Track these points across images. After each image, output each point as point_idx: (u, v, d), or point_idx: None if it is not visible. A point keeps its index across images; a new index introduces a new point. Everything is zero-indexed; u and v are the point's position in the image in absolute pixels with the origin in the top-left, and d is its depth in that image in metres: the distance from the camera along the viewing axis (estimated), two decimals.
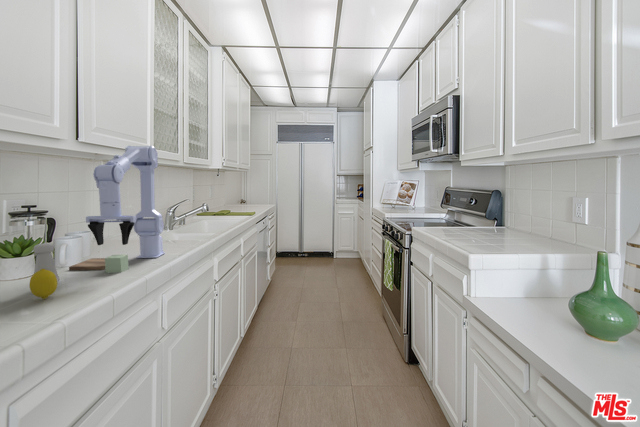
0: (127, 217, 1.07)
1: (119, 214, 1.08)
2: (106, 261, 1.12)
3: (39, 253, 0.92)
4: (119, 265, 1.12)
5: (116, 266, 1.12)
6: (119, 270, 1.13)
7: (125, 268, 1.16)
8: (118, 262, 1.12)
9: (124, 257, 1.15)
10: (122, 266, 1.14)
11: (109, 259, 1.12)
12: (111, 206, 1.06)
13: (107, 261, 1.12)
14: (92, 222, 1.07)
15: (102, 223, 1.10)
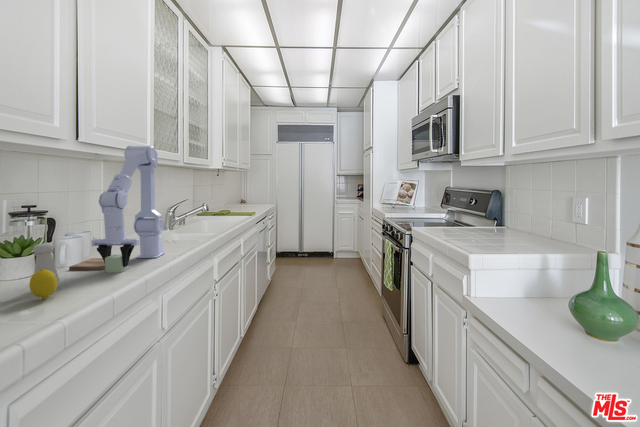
0: (130, 241, 1.13)
1: (123, 238, 1.14)
2: (106, 261, 1.12)
3: (39, 253, 0.92)
4: (119, 265, 1.12)
5: (116, 266, 1.12)
6: (119, 270, 1.13)
7: (125, 268, 1.16)
8: (118, 261, 1.12)
9: None
10: (122, 266, 1.14)
11: (109, 258, 1.12)
12: (115, 231, 1.11)
13: (107, 261, 1.12)
14: (97, 245, 1.13)
15: (110, 246, 1.16)
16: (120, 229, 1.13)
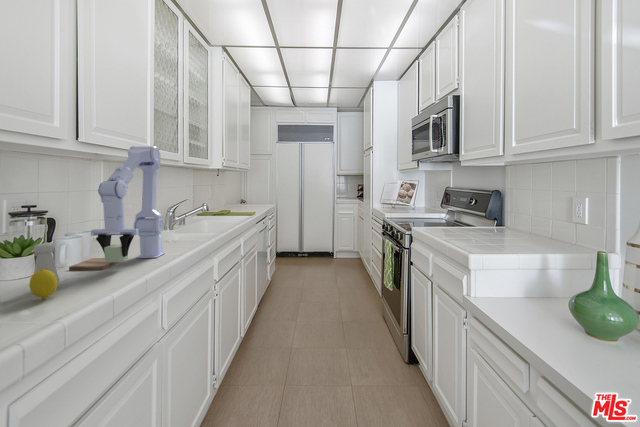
0: (130, 230, 1.13)
1: (122, 227, 1.13)
2: (105, 250, 1.12)
3: (39, 253, 0.92)
4: (118, 254, 1.12)
5: (116, 255, 1.12)
6: (119, 260, 1.12)
7: (125, 258, 1.15)
8: (117, 251, 1.12)
9: None
10: (121, 256, 1.13)
11: (108, 248, 1.12)
12: (115, 220, 1.11)
13: (106, 250, 1.12)
14: None
15: (109, 236, 1.15)
16: (119, 219, 1.12)
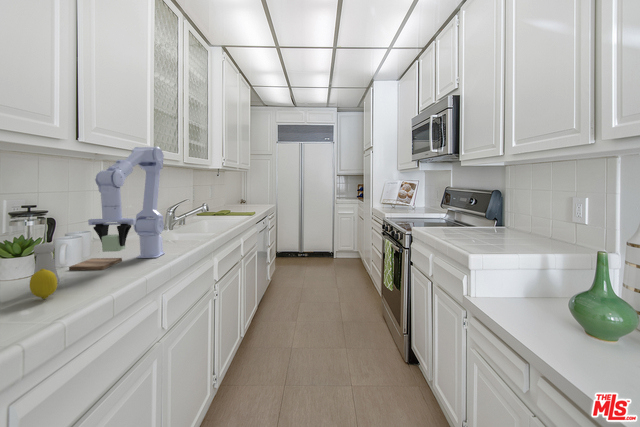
0: (127, 220, 1.13)
1: (120, 217, 1.14)
2: (103, 240, 1.12)
3: (39, 253, 0.92)
4: (116, 244, 1.13)
5: (113, 245, 1.12)
6: (116, 249, 1.13)
7: (122, 247, 1.16)
8: (115, 240, 1.12)
9: None
10: (119, 245, 1.14)
11: (106, 237, 1.12)
12: (112, 209, 1.12)
13: (104, 240, 1.12)
14: None
15: (107, 225, 1.16)
16: (117, 208, 1.13)
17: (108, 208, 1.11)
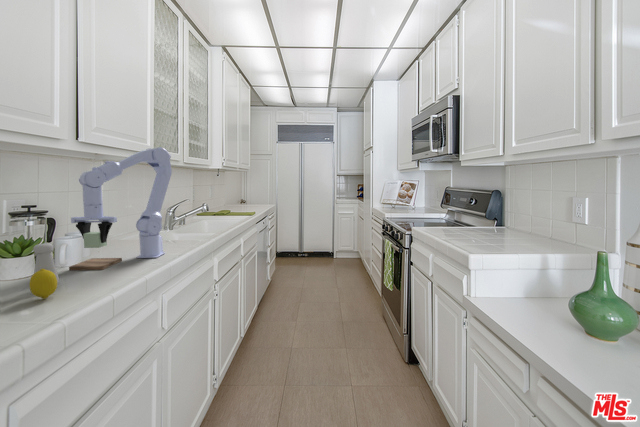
0: (108, 218, 1.20)
1: (101, 215, 1.20)
2: (85, 237, 1.18)
3: (39, 253, 0.92)
4: (97, 240, 1.19)
5: (95, 241, 1.19)
6: (97, 246, 1.19)
7: (103, 244, 1.22)
8: (96, 237, 1.19)
9: None
10: (100, 242, 1.20)
11: (87, 234, 1.18)
12: (93, 208, 1.18)
13: (86, 237, 1.18)
14: (77, 222, 1.19)
15: (89, 223, 1.22)
16: (98, 207, 1.19)
17: (89, 207, 1.17)
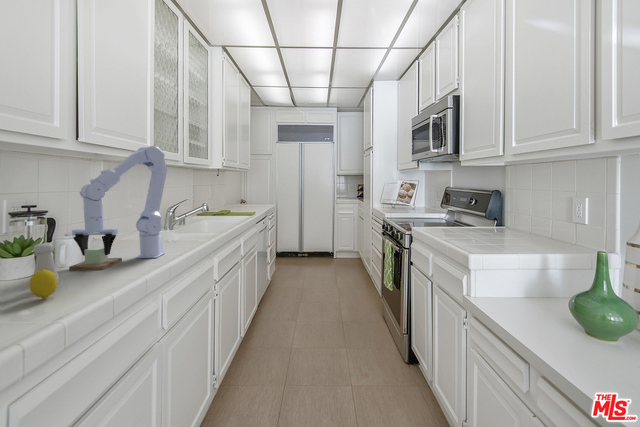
0: (109, 230, 1.20)
1: (102, 228, 1.21)
2: (86, 253, 1.19)
3: (39, 253, 0.92)
4: (98, 256, 1.19)
5: (95, 257, 1.19)
6: (98, 262, 1.20)
7: (104, 260, 1.23)
8: (97, 253, 1.19)
9: (103, 249, 1.22)
10: (101, 258, 1.21)
11: (88, 250, 1.19)
12: (94, 221, 1.18)
13: (87, 253, 1.19)
14: (77, 235, 1.20)
15: (87, 235, 1.22)
16: (99, 219, 1.19)
17: (90, 219, 1.18)
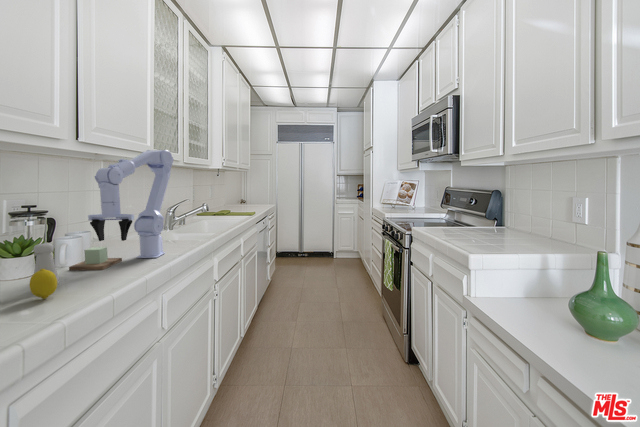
0: (126, 215, 1.18)
1: (118, 213, 1.19)
2: (86, 253, 1.19)
3: (39, 253, 0.92)
4: (98, 256, 1.19)
5: (95, 257, 1.19)
6: (98, 262, 1.20)
7: (104, 260, 1.23)
8: (97, 253, 1.19)
9: (103, 249, 1.22)
10: (101, 258, 1.21)
11: (88, 250, 1.19)
12: (111, 205, 1.16)
13: (87, 253, 1.19)
14: (94, 220, 1.18)
15: (103, 221, 1.21)
16: (115, 204, 1.17)
17: (107, 204, 1.16)
